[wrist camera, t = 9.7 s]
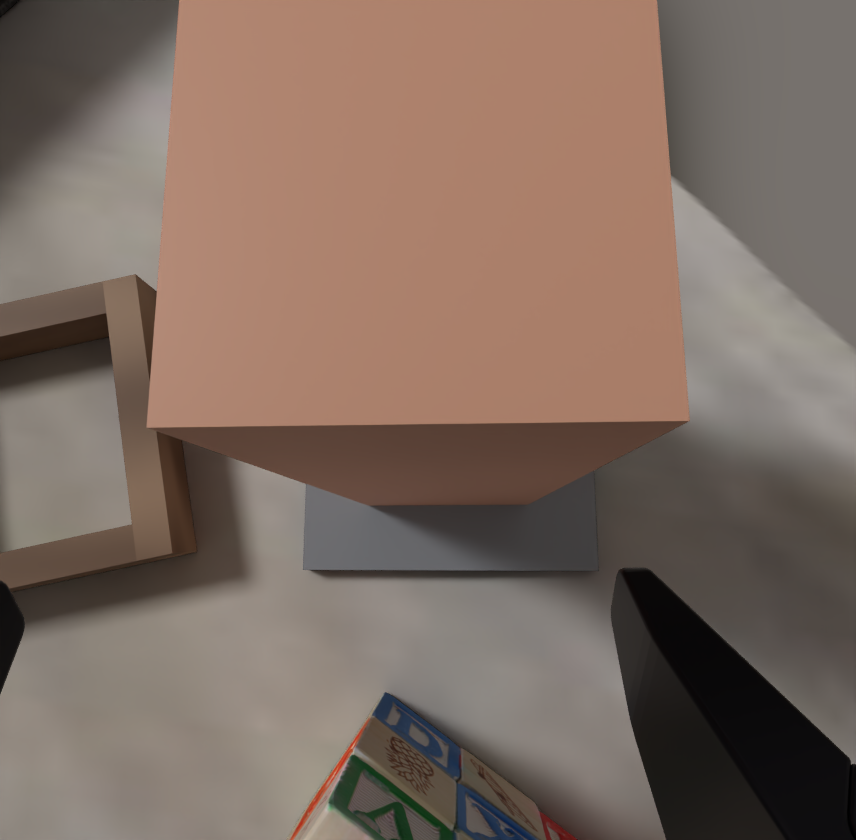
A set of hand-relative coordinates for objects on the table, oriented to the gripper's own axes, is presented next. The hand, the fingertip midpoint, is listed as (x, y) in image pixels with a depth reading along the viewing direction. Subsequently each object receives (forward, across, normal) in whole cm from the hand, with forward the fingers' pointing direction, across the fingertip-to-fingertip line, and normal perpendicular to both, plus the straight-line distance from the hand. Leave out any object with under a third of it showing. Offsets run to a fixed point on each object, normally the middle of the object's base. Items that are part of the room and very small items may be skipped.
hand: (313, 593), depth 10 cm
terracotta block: (+12, -2, +5) cm, 14 cm away
